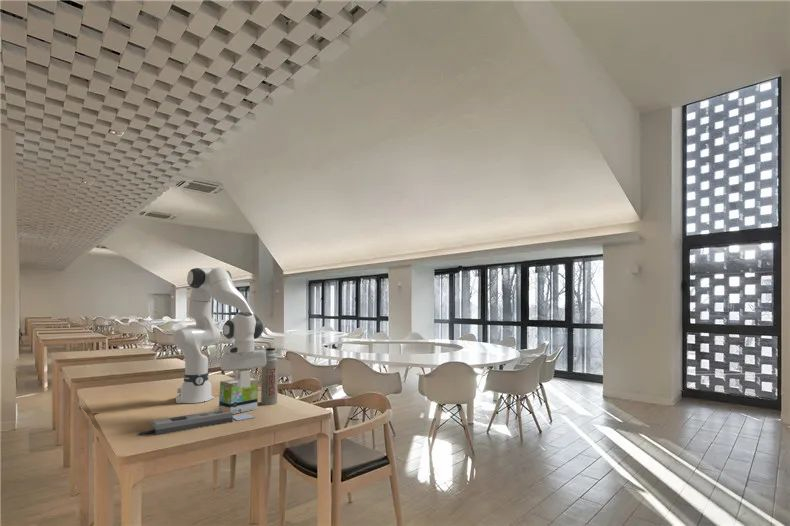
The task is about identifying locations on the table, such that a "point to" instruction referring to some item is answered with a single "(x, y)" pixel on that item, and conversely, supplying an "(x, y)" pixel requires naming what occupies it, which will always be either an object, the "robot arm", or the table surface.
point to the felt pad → (243, 417)
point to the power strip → (189, 421)
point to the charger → (243, 378)
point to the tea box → (238, 396)
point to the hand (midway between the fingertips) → (243, 378)
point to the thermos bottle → (269, 378)
